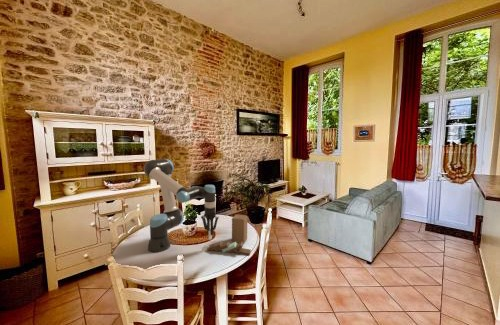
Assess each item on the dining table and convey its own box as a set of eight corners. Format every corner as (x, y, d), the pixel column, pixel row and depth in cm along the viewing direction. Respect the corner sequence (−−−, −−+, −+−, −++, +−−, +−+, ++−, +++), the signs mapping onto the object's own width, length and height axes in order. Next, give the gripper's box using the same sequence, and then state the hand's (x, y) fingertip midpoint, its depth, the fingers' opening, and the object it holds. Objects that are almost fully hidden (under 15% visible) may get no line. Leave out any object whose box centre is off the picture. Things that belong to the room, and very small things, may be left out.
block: (247, 239, 170) (247, 215, 168) (243, 245, 160) (244, 219, 158) (235, 237, 172) (235, 213, 170) (231, 243, 163) (231, 218, 161)
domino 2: (214, 249, 149) (226, 244, 147) (216, 245, 154) (228, 241, 152) (215, 251, 149) (227, 247, 147) (217, 248, 154) (229, 244, 152)
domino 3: (228, 250, 147) (240, 245, 145) (230, 247, 152) (242, 241, 150) (229, 253, 147) (242, 247, 145) (231, 249, 152) (243, 244, 150)
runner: (200, 251, 149) (200, 251, 149) (204, 246, 157) (204, 246, 157) (238, 255, 145) (238, 255, 145) (241, 249, 153) (241, 249, 153)
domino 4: (235, 250, 146) (249, 253, 145) (237, 247, 151) (250, 249, 150) (235, 253, 147) (249, 256, 145) (237, 249, 152) (250, 252, 150)
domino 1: (207, 248, 150) (219, 244, 148) (209, 245, 155) (221, 241, 153) (208, 251, 150) (220, 246, 148) (210, 247, 155) (222, 243, 153)
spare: (221, 250, 148) (234, 244, 146) (223, 246, 153) (235, 241, 151) (223, 252, 148) (235, 247, 146) (225, 248, 153) (236, 243, 151)
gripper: (199, 207, 146) (199, 240, 149) (217, 209, 144) (217, 242, 147) (203, 204, 154) (203, 235, 156) (220, 205, 152) (220, 237, 154)
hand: (210, 238), depth 151 cm, fingers closed
